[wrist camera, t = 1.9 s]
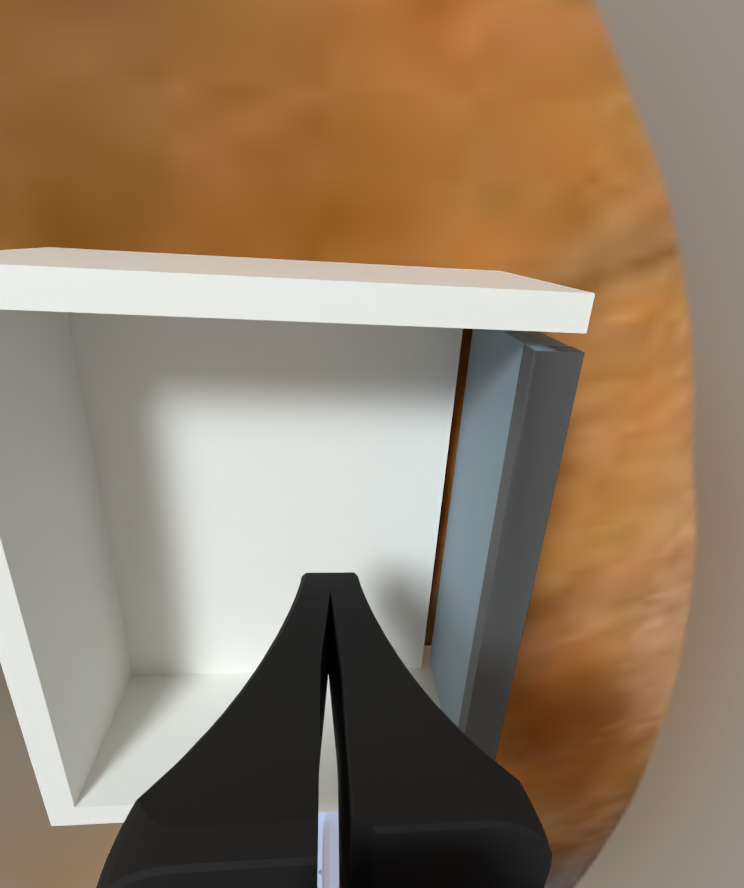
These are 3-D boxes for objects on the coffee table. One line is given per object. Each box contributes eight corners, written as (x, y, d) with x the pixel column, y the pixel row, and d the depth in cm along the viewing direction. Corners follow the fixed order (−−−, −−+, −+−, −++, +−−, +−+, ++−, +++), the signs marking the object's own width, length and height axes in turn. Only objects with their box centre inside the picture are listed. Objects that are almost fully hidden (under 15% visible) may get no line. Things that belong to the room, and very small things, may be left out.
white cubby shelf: (444, 658, 22) (483, 803, 16) (125, 666, 21) (51, 826, 15) (500, 270, 16) (595, 293, 10) (48, 247, 14) (-126, 258, 9)
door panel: (455, 659, 20) (490, 779, 16) (428, 660, 20) (456, 780, 16) (509, 316, 15) (584, 352, 11) (472, 314, 15) (534, 350, 10)
